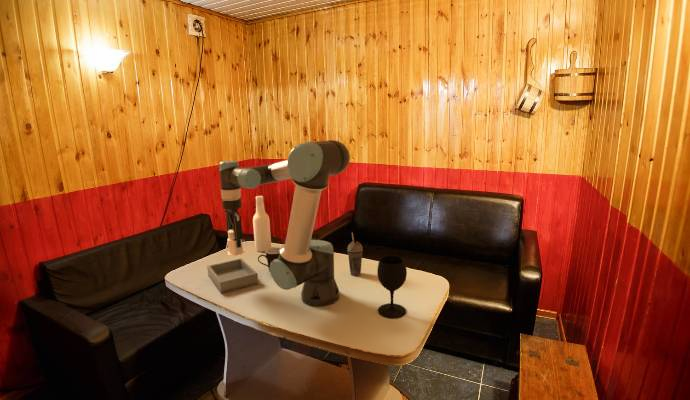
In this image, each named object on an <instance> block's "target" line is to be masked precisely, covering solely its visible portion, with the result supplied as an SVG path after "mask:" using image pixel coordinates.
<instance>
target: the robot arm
mask: <svg viewBox="0 0 690 400" xmlns="http://www.w3.org/2000/svg"><path fill="white" fill-rule="evenodd" d="M350 161H351V155H350V151H349V149H348V147H347V146H346V145H345V144H344V143H343V142H341V141H339V140H334V139H329V140H319V141H306V142H302V143H301V142H300V143H299V144H296V145H294V147H293V148H291V150H290V152H289V154H288V157H287V159H285V160H284V159H283V160H281V161H277V162H274V163H269V164H265V165H257V166H249V167H240V165H239V161H237V160H222V161H220V162H219V169H218V170H219V171H218V172H219V181H220V192H221V193H220V195H221V199H222V200H221V203H222V204H221V205H222V208H223V210H224V211H225V222H226V223H225V225H226V232H227V233H228V231H229V230H231V229H233V231H234V237H235V239H233V241H234V245H235V256H239V254H240V255H242V244H243V242H242V243H241V239H242V240H244V235H243V226H242V215H240V213H239V210H238V209H241V208H242V207H243V205H242V199H241V197H242V196H241V195H242V194H241V192H242V191H243V190H242V189H241V188H244V189H247V190H249V189H250V190H251V189H255V188H257V187H258V186H261V185H267V184H271V183H277V182H282V181H285V180H290V179H291V181H292V183H293V184H294V186H295V188H294V192H293V199H292V204H291V209H290V214H289V215H290V216H289V221H288V227H287V233H286V237H285V243H284V244H283V245H282V246H281V247H279V248H280V251H279V257H278V259H274V260H273V261H272V262H271V264H270V272H269V273H270V275H271V279H272V280H273V281H274V283H275V285H276V286H278V288H280V289H282V290H286V291H287V290H292V289H294V288H297V287H298V286H300V285H302V284H303V285H302V289H301V292H300V293H301V294H300V295H301V297H300V298H301V301H302V303H304V304H306V305H308V306H312V307H325V306H329V305H332V304H334V303H336V302H337V301H338V300H339V299H340V290H339V287H338V284H337V282H336V279H335V258H334V257H335V255H334V254H335V252H334V246H333V244H332V243H331V242H329V241H326V240H322V239H320V240H319V239H313V238H312V236H313V233H314V227H315V225H316V224H315V223H316V219H317V213H318V210H319V205H320V204H319V203H320V199H321V195H322V191H324V190H325V189H327V188H328V185H329V182H330V181H329V180H330V177H333V176H336V175H339V174H341V173H343V172H344V171H345V170H346V169H347V168H348V167H349V165H350Z"/></svg>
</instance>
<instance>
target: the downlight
mask: <svg viewBox="0 0 690 400" xmlns="http://www.w3.org/2000/svg"><path fill="white" fill-rule="evenodd" d="M227 235H228V238H227V242H226V247H225V251H226V253H227V255H228V256H233V257H234V256H236V255H235V245H234V241H233V239H235V237H234V231H233V229H231V230H229V231H228V232H227ZM241 243H242V254H244V253H245V252H246V251H245V245H246V242H245V239H241ZM227 249H228V250H227ZM242 254H239V255H242ZM239 255H238V256H239Z"/></svg>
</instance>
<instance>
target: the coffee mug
mask: <svg viewBox="0 0 690 400" xmlns="http://www.w3.org/2000/svg"><path fill="white" fill-rule="evenodd" d="M280 248H281V247H271V248H270V249H267V250H266V251H265V252H264V253H265V254H261V255H258V257H257V262H259V264H261V265H264V266H266V267H267V268H268V271H269V273H270V264H271V262H272V261H273V260H274V259H278V257H279V251H280ZM260 257H265V259H266V262H267V264H266V263H264V262H262V261H261V260H260Z"/></svg>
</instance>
